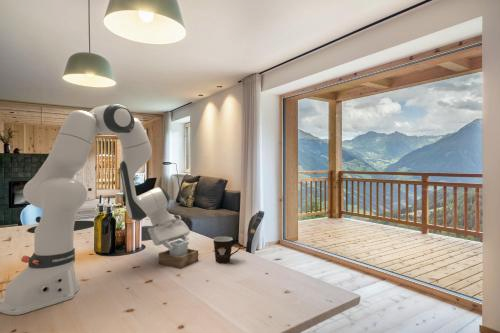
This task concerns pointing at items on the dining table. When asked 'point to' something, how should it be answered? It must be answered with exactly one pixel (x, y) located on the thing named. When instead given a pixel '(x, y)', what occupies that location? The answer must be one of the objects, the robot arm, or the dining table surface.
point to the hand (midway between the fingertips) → (179, 247)
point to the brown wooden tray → (178, 259)
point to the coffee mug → (223, 249)
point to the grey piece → (179, 248)
